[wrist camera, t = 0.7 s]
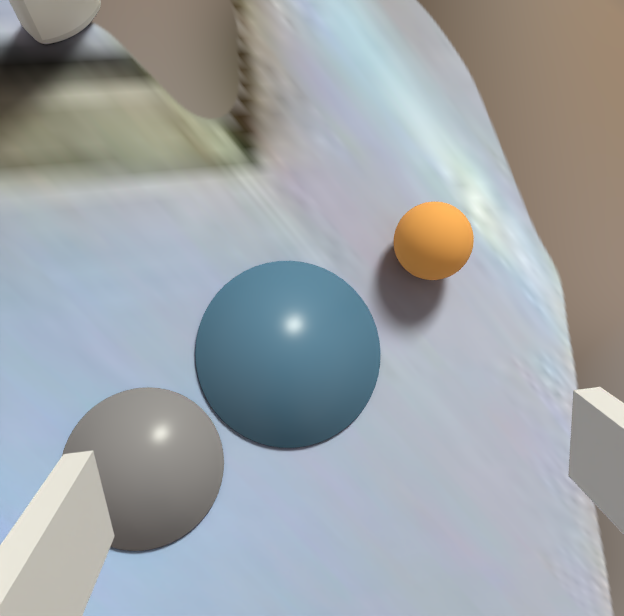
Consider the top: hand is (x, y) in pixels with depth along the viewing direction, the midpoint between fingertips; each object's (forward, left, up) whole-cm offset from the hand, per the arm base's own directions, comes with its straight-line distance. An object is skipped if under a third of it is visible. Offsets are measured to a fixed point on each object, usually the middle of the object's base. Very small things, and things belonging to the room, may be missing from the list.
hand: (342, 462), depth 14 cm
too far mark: (-3, +7, -21) cm, 23 cm away
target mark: (+5, -1, -21) cm, 22 cm away
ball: (+14, -10, -19) cm, 25 cm away
